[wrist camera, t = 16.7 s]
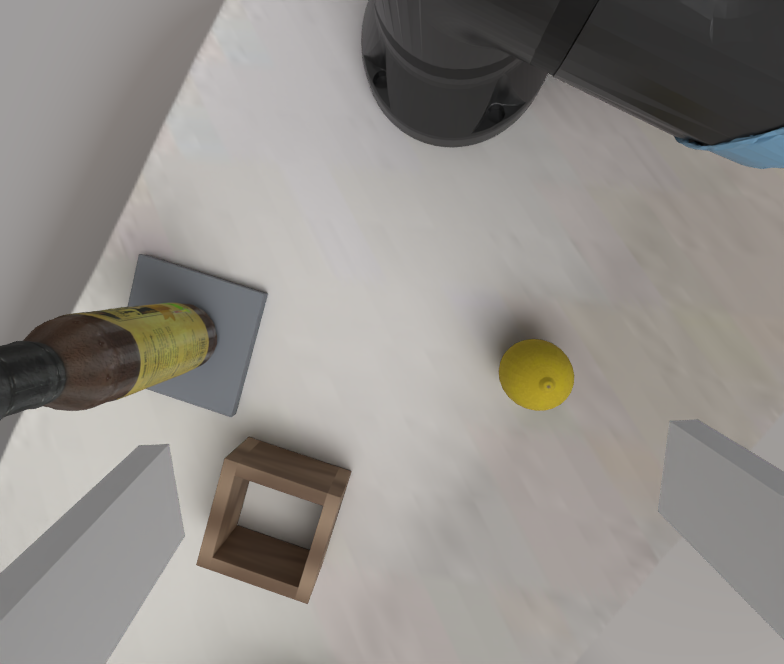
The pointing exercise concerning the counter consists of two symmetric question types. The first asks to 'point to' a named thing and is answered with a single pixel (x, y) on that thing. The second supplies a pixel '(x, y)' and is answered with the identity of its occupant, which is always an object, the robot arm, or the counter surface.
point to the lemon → (536, 374)
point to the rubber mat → (232, 323)
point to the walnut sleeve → (261, 552)
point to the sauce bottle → (103, 356)
